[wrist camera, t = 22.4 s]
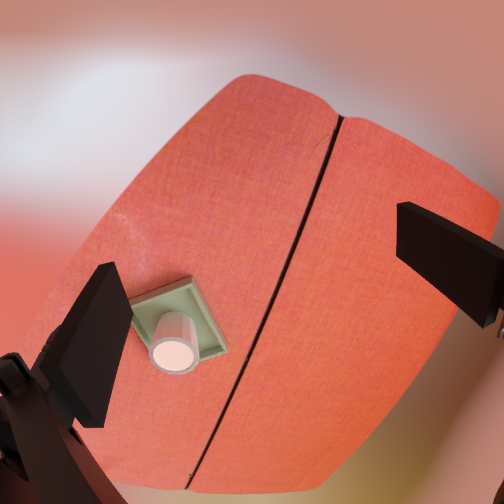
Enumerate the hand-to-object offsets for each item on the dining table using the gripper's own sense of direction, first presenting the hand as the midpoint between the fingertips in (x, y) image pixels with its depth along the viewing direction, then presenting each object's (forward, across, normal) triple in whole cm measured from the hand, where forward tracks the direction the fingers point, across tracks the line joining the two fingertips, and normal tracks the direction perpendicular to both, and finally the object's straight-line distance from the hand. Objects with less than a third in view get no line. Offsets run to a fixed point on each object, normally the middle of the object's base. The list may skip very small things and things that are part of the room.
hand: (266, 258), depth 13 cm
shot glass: (+26, -12, -20) cm, 35 cm away
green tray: (+27, -12, -20) cm, 35 cm away
